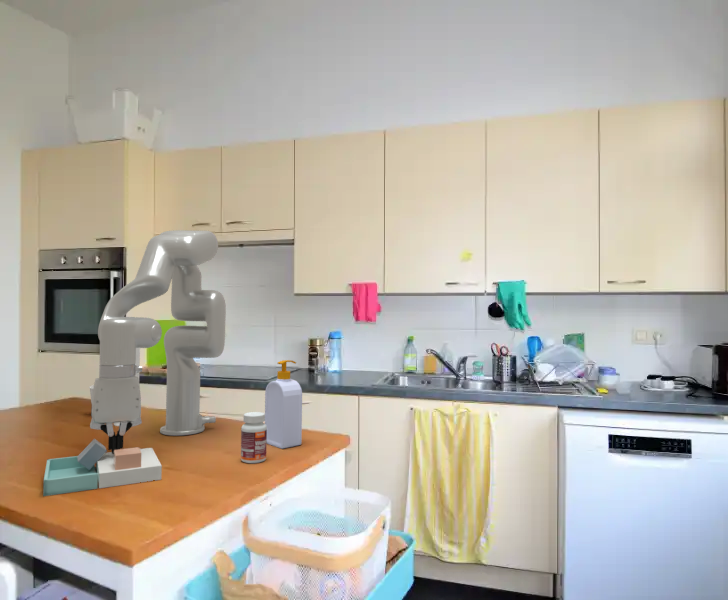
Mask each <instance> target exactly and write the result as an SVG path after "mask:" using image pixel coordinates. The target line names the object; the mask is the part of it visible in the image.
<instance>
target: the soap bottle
mask: <svg viewBox="0 0 728 600" xmlns="http://www.w3.org/2000/svg"><path fill="white" fill-rule="evenodd" d="M287 363H293V364H295V365H296V364H297V362H296V361H294V360H290V359H288V360H287V359H286V360H284V359H282V360H280V361H278V362H277V365H281V370H278V371H277V372H276V373H277V378H276V380H272V381H269V383H267V385H266V388H265V392H264V393H265V394H264V396H265V397H264V399H265V400H264V413H265V421H264V424H265V425H266V426H267V443H266V445H267V444H268V445H270V446H273V447H276V448H279V449H281V450H283V449H287V448H288V449H289V448H292V447H297V446H300V445H302V433H303V431H302V428H303V427H302V425H303V424H302V423H303V390H302V386H301V385H300V383H299V382H298V381H297V380H296V379H292V378H291V370H287Z"/></svg>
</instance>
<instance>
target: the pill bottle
mask: <svg viewBox="0 0 728 600" xmlns="http://www.w3.org/2000/svg"><path fill="white" fill-rule="evenodd" d="M240 429H241V432H240V433H241V435H240V460H241V461H242V462H244V463H247V464H259V463H263V462H264V461H266V459H267V426H266V425H265V412H262V411H252V412H251V411H249V412H246V413H243V424H242V426H241V428H240Z"/></svg>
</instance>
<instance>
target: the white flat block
mask: <svg viewBox="0 0 728 600" xmlns="http://www.w3.org/2000/svg"><path fill="white" fill-rule="evenodd" d="M139 449H140V451H141V467H137V468H129V469H121V470H115V467H114V454H112V452H105V453H104V455H103V456H102V457H101V458H100V459H99V460H98V461H97V462H96V463H95V471H96V473H98V483H97V486H98V489H104V488H111V487H119V486H125V485H130V484H131V485H132V484H139V483H140V482H141V483H146V482H147V481H148V482H152V481H153V480H155V481H161V480H162V474H163V473H162V468H163V466H162V464H161V462H160V459H158V456H157V454H156V453H155V451H154V448H153V447H146V448H139Z"/></svg>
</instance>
